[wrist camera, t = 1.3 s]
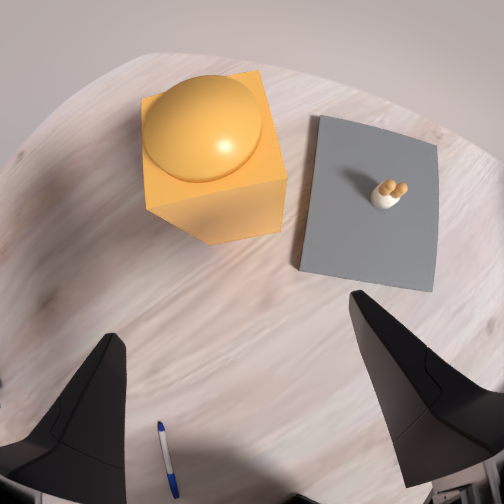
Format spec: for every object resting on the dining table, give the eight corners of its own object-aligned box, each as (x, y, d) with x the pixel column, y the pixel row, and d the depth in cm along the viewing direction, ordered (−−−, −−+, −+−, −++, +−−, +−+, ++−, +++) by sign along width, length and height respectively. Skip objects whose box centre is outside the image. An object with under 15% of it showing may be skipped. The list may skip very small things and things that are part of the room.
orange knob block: (280, 231, 24) (288, 168, 10) (209, 245, 24) (136, 203, 11) (266, 164, 24) (257, 56, 11) (199, 179, 25) (133, 89, 11)
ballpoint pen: (182, 496, 22) (179, 501, 21) (174, 495, 22) (172, 500, 21) (164, 421, 23) (160, 426, 22) (155, 420, 23) (152, 425, 22)
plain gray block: (426, 291, 22) (456, 292, 17) (298, 270, 23) (304, 267, 18) (432, 149, 23) (455, 128, 19) (319, 120, 24) (326, 90, 20)
